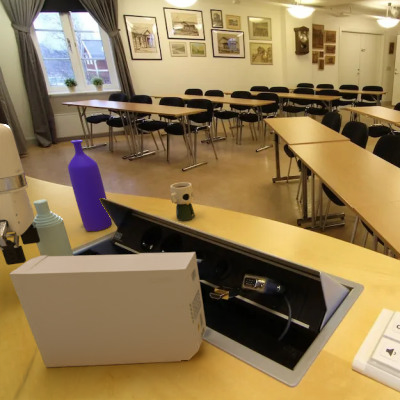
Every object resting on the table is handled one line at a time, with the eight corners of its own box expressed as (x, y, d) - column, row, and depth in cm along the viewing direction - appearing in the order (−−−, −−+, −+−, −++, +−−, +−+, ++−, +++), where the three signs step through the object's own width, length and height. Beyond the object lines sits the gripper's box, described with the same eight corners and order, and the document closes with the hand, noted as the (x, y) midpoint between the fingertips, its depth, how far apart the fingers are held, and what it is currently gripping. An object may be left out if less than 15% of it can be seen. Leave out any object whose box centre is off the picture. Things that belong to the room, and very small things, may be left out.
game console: (66, 343, 63) (36, 254, 56) (208, 337, 65) (195, 251, 58) (45, 368, 57) (8, 273, 50) (200, 360, 59) (185, 269, 52)
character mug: (184, 225, 113) (178, 190, 108) (167, 222, 115) (161, 188, 110) (203, 213, 123) (199, 181, 118) (187, 211, 125) (183, 179, 120)
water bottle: (41, 274, 84) (18, 207, 78) (49, 261, 90) (28, 198, 83) (72, 268, 87) (52, 203, 80) (77, 256, 93) (59, 195, 86)
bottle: (78, 230, 108) (52, 142, 97) (99, 220, 116) (78, 137, 105) (98, 233, 106) (74, 143, 96) (118, 223, 114) (98, 139, 103)
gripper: (-3, 173, 74) (18, 238, 80) (-43, 198, 60) (-14, 275, 66) (38, 170, 77) (55, 234, 83) (9, 194, 63) (32, 268, 69)
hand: (24, 252), depth 75 cm, fingers open, 9 cm apart
